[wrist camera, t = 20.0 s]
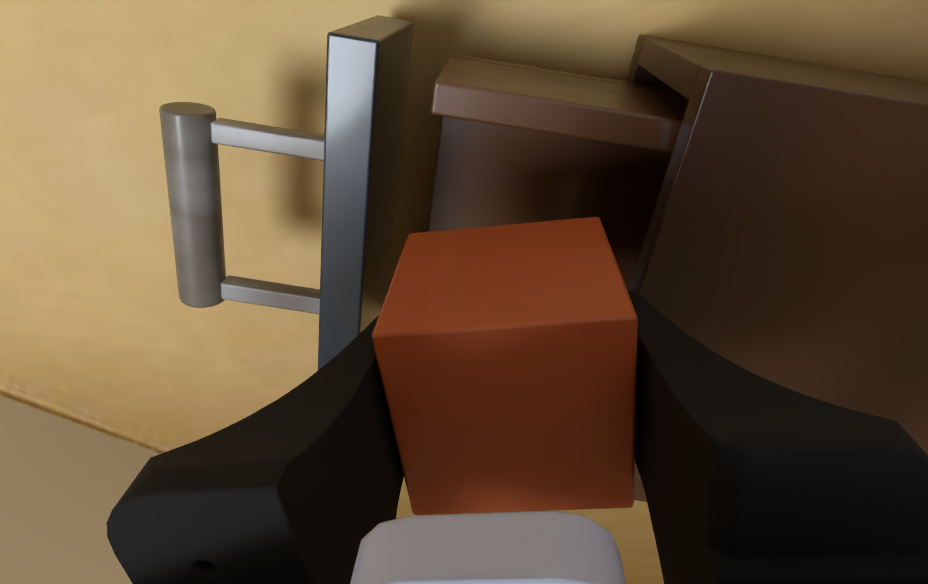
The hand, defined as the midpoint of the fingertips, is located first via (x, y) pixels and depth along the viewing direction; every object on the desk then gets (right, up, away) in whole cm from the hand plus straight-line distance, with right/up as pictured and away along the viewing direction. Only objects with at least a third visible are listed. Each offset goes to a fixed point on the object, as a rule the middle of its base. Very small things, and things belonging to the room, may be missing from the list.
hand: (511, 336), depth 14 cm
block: (0, +1, +1) cm, 1 cm away
